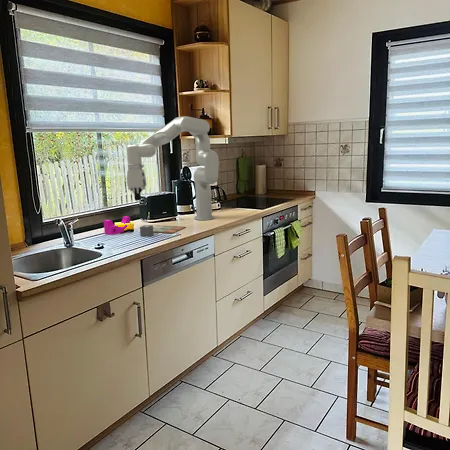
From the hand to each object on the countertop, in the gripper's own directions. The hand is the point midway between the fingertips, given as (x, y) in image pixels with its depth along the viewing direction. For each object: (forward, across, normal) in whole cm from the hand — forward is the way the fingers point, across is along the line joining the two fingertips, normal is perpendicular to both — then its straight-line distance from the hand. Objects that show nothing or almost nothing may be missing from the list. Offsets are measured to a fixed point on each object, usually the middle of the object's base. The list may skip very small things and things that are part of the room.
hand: (137, 200), depth 238 cm
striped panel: (+17, -16, 0) cm, 23 cm away
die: (+17, -13, +14) cm, 25 cm away
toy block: (+17, +8, +9) cm, 21 cm away
